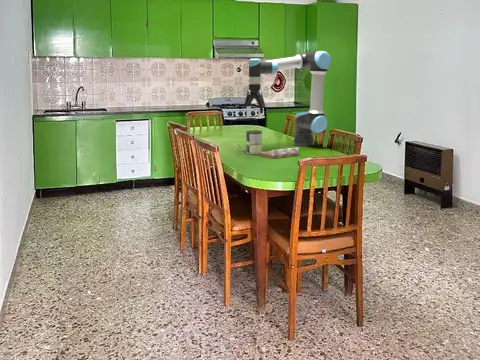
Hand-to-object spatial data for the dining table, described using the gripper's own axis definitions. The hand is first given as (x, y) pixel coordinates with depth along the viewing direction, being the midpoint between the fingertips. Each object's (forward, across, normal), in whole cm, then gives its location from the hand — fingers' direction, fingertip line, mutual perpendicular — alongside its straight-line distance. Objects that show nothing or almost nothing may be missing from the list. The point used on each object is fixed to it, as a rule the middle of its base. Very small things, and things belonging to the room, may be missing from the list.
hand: (254, 117), depth 323 cm
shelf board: (+23, +16, +8) cm, 29 cm away
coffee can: (+23, -1, 0) cm, 23 cm away
